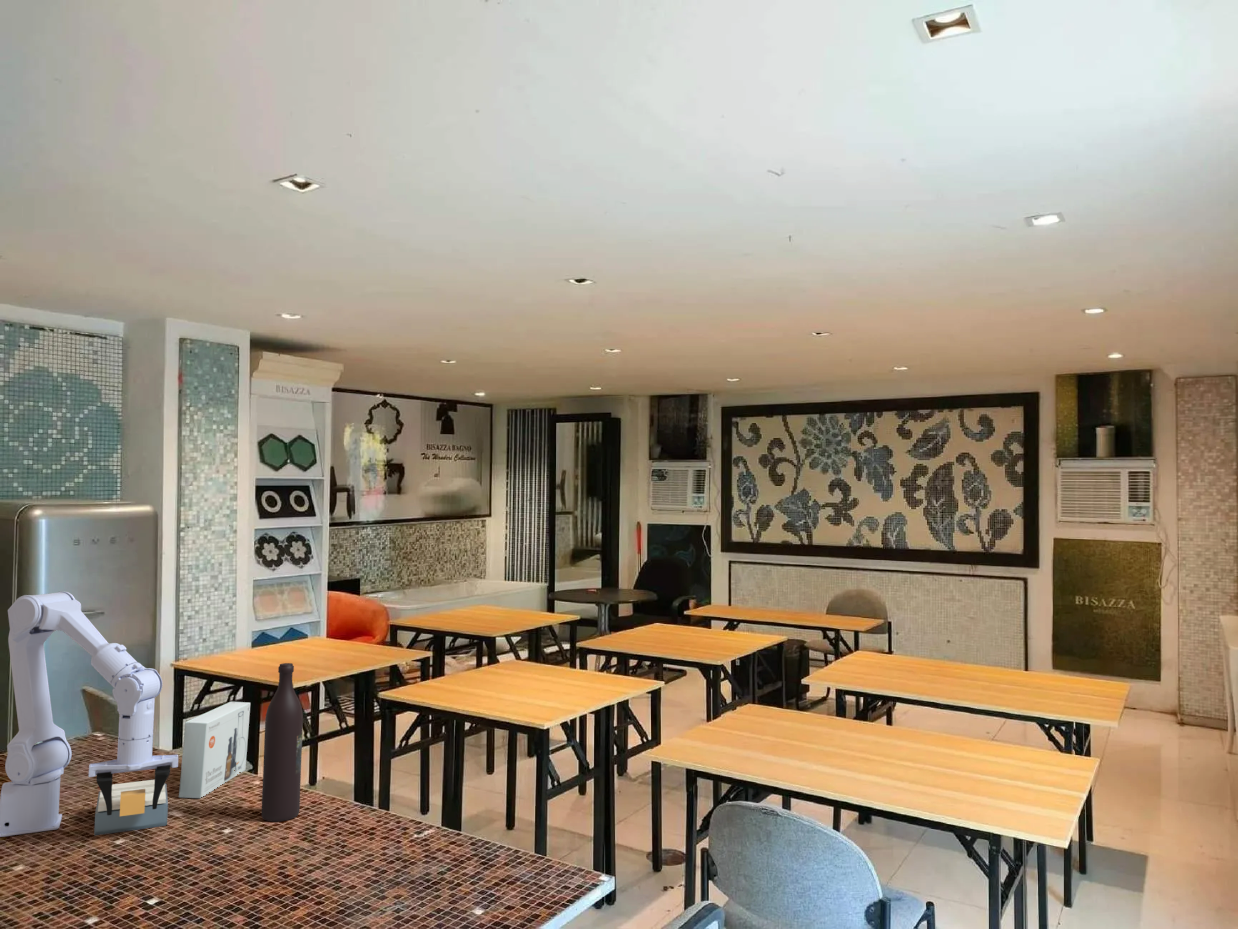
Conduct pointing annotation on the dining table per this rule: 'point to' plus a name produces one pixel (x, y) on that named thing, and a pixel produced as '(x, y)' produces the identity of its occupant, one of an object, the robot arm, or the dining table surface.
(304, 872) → the dining table surface
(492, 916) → the dining table surface
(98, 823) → the tub
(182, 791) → the skincare box
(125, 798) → the lid
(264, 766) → the wine bottle
